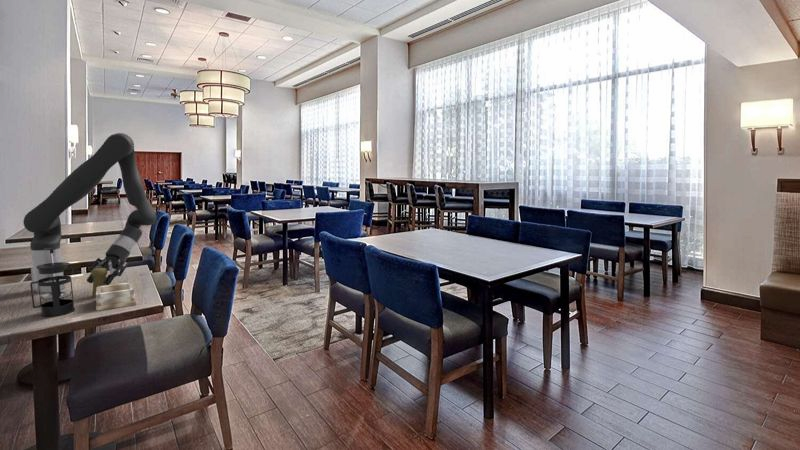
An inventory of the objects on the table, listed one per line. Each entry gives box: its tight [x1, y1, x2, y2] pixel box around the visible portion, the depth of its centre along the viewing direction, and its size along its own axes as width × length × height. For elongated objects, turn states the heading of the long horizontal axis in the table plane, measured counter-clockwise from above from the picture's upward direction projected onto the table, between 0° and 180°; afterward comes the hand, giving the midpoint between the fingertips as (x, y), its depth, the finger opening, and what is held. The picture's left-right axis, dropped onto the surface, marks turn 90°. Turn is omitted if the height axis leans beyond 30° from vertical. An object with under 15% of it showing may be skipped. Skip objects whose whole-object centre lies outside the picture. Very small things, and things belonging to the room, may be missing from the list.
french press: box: [29, 247, 76, 318], centre depth 145 cm, size 12×9×23 cm
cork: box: [90, 267, 108, 299], centre depth 165 cm, size 6×6×11 cm
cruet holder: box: [95, 281, 137, 311], centre depth 158 cm, size 12×14×6 cm
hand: (97, 283), depth 164 cm, fingers open, 8 cm apart
